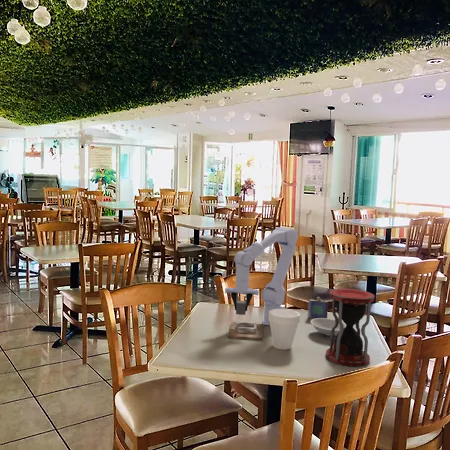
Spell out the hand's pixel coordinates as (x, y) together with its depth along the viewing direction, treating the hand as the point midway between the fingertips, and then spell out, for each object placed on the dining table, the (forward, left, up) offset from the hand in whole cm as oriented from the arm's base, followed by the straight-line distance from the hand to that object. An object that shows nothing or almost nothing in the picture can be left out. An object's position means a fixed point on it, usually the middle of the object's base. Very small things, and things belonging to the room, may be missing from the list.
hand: (241, 310), depth 209 cm
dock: (-3, +4, -8) cm, 10 cm away
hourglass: (-42, +27, -9) cm, 50 cm away
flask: (-36, -23, -9) cm, 44 cm away
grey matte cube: (0, 0, -2) cm, 2 cm away
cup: (-18, +19, -9) cm, 27 cm away
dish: (-38, +1, -9) cm, 39 cm away
